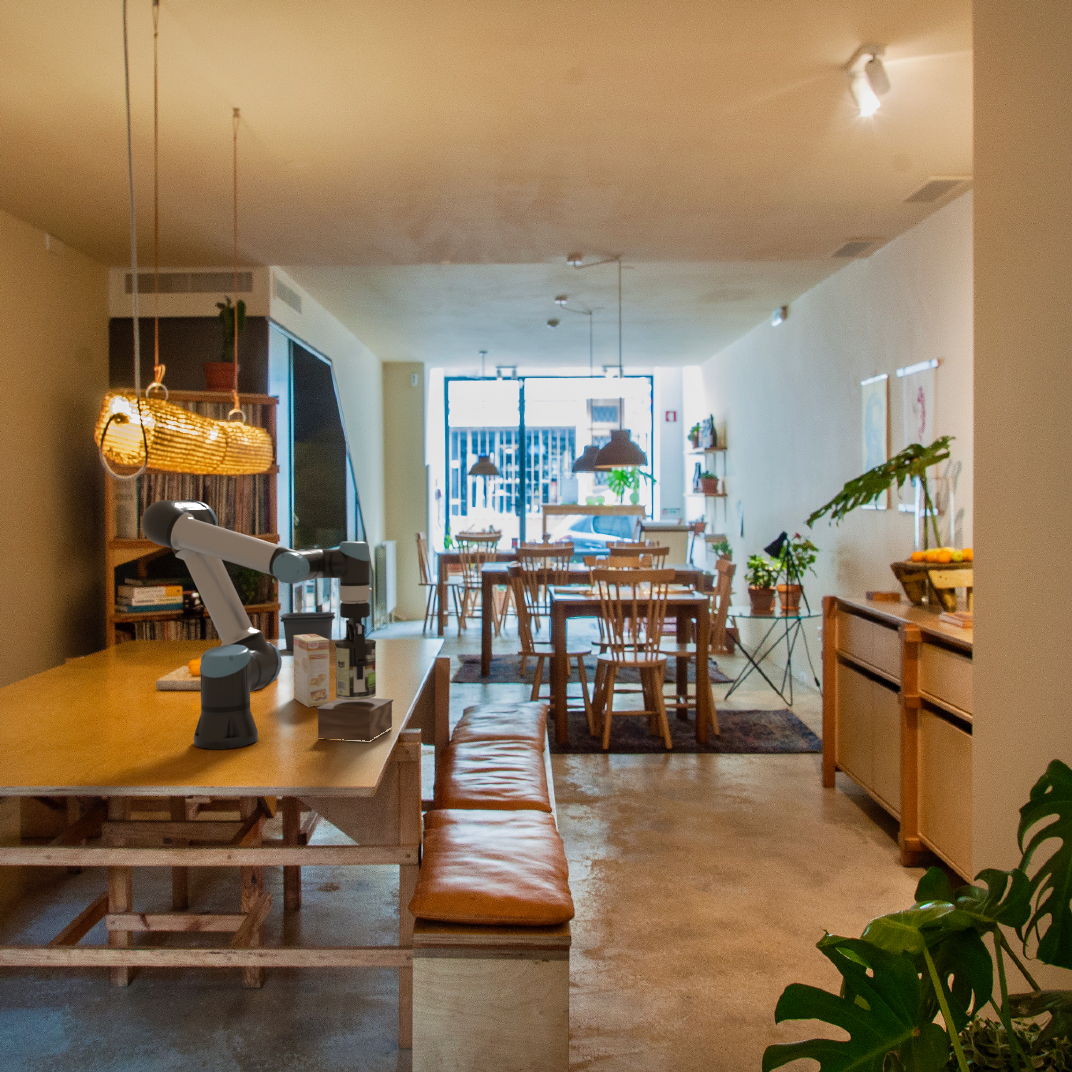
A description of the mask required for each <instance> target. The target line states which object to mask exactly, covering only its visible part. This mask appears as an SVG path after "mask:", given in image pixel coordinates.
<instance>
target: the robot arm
mask: <svg viewBox="0 0 1072 1072" xmlns="http://www.w3.org/2000/svg"><path fill="white" fill-rule="evenodd" d="M141 529H142V532H143V534H144V535H145V537H146V538H147V539H148V540H149V542H150V541H151V542H152V543H153V544H155V545H158V546H163V547H166V548H170V549H172V552H173V554H174V555H175V558H178V559H180V560H182V561H184V563H185V565H186V567H187V569H188V572H189V574H190V576H191V578H192V580H193V582H194V584H195V586H196V588H197V589H196V590H198V593H199V595H200V597H201V600H202V602H203V604H204V606H205V608H206V610H207V613H208V614H209V617H210V619H211V621H212V623H213V626H214V628H215V630H216V632H217V634H218V636H219V638H220V641H221V644H220V646H214V647H211V648H209V649H206V650H205V651H204V652H203V653H202V654H201V657H200V664H199V665H200V666H199V672H200V673H199V674H200V675H199V676H200V715H199V718H198V722H197V724H196V728H195V731H194V734H193V745H194V747H196V748H199V747H200V748H199V749H203V748H209V749H208V750H224V749H223V748H230V749H236V748H235V747H238V748H242V747H241V746H243V747H246V745H247V746H249V745H248V744H250V745H252V744H251V743H253V744H255V743H257V741H258V739H259V732H258V731H259V730H258V728H257V724H256V723H255V719H254V717H253V714H252V711H251V692H253V691H255V690H257V689H262V688H263V689H264V688H265V687H267V686H268V685H269V684H271V683H273V681H275V680H276V678H278V677H279V674H280V671H281V670H282V663H283V661H282V655H281V652H280V651H279V649H278V648H277V646H276V645H274V644H273V643H271V642H269V641H268V640H267V641H266V638H265V636H264V634H263V632H262V631H261V630H259V629H257V628H254V626H253V625H252V622H251V620H250V618H249V616H248V614H247V612H246V608H245V607H244V605H243V603H242V601H241V598H240V597H239V594H238V592H237V590H236V588H235V586H234V583H233V581H232V580H231V577H230V576H229V575H230V574H229V573H228V571H227V568H226V566H225V565H224V562H223V561H226V562H230V563H232V564H236V565H238V566H242V567H245V568H248V569H252V570H254V571H257V572H261V573H265V574H268V575H271V576H274V577H275V578H276V579H277V580H278V581H279V582H282V583H284V584H297V583H301V582H305V581H311V580H316V579H339V601H341V602H340V604H339V616H340V618H343V619H346V621H345V640H346V639H348V641H351V642H352V644H355V649H354V664H352V667H353V671H354V693H355V692H365V665H366V664H367V661H366V648H365V639H366V632H365V631H366V630H365V629H366V626H365V625H364V624H363V623H362V622H363V621H362V620H363V618H368V617H370V616H371V604H370V602H369V600H371V599H370V597H371V596H370V593H371V592H372V591H373V589H372V588H371V586H370V584H371V582H370V575H371V574H370V571H371V570H370V569H371V568H370V567H371V566H370V565H371V563H370V562H371V556H370V546H369V543H367V542H366V541H358V540H356V541H354V540H353V541H340V543H339V547H338V548H333V549H331V548H329V549H327V548H311V547H310V548H300V549H297V550H295V549H292V548H289V547H286V546H283V545H279V544H276V543H273V542H269V541H266V540H263V539H259V538H257V537H253V536H251V535H247V534H243V533H240V532H237V531H234V530H230V529H227V528H224V527H222V526H218V518H217V516H216V514H215V512H214V510H213V509H212V507H210V506H209V505H207V504H206V503H205V502H202V501H198V500H194V499H183V500H179V499H178V500H177V499H176V500H173V499H171V500H170V499H162V500H158V501H155V502H153V503H152V504H150V505H148V507H147V508H146V509H145V511H144V512H143V514H142V517H141ZM254 742H255V743H254Z"/></svg>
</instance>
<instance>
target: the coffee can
mask: <svg viewBox="0 0 1072 1072" xmlns="http://www.w3.org/2000/svg"><path fill="white" fill-rule="evenodd" d="M376 644H377V641H376V640H375V639H370V638H365V648H366V661H367V664H366V665H365V692H355V693H354V671H353V667H352V664H354V649H355V644H352V642H351V641H348V639H346V638H345V639H340V640H337V641H335V642H334V645H335V698H336V699H338V698H339V699H345V700H360V699H368V698H375V697H376V696H377V687H376V686H377V682H376V681H377V680H376V679H377V678H376V677H377V676H376V675H377V674H376V673H377V672H376V670H377V667H376V665H377V663H376V661H377V660H376V659H377V656H376V654H377V652H376V647H377V646H376Z"/></svg>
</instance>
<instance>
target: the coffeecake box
mask: <svg viewBox="0 0 1072 1072" xmlns="http://www.w3.org/2000/svg"><path fill="white" fill-rule="evenodd" d="M293 637H294V650H293V699H295V700H296V701H297V702H299V703H301V704H302V705H304V706H305V707H306V706H307V707H306V708H313V706H315V707H320V706H322V705H325V704H327V703H329V702H331V699H330V696H331V695H330V684H331V683H330V674H331V673H330V647H329V641H330V640H329V639H326V638H323V637H321V636H318V635H316V634H304V635H294V636H293Z"/></svg>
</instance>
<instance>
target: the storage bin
mask: <svg viewBox="0 0 1072 1072" xmlns="http://www.w3.org/2000/svg"><path fill="white" fill-rule="evenodd" d="M335 614H336V612H334V611H333V612H331V611H329V612H328V611H327V612H326V611H325V612H324V611H323V612H322V611H321V612H319V611H317V612H288V613H287V612H286V613H283V614H281V615H279V617H280V622H282V623H283V629H284V638H285V639H284V640H285V646H286V650H287V651H294V637H293V636H294V635H304V634H316V635H318V636H321V637H323V638H326V639H329V640H330V641H329V648H330V647H331V642H332V629H333V620H334V619H336V616H335Z"/></svg>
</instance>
